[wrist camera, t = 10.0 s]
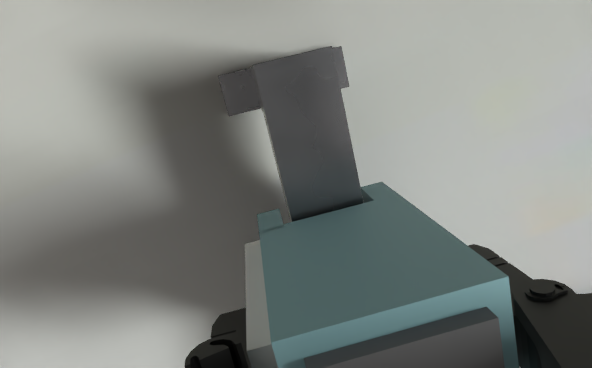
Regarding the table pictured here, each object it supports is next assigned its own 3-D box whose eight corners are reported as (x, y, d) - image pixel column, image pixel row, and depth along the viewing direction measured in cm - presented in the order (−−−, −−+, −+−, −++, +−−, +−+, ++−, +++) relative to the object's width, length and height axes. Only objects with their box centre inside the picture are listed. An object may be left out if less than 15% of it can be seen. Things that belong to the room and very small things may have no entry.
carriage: (257, 214, 15) (272, 356, 8) (381, 181, 16) (521, 286, 8) (289, 335, 17) (332, 563, 9) (404, 303, 17) (544, 497, 9)
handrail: (218, 75, 18) (209, 75, 13) (338, 47, 18) (373, 35, 13) (323, 461, 23) (345, 564, 18) (414, 434, 23) (460, 529, 18)
